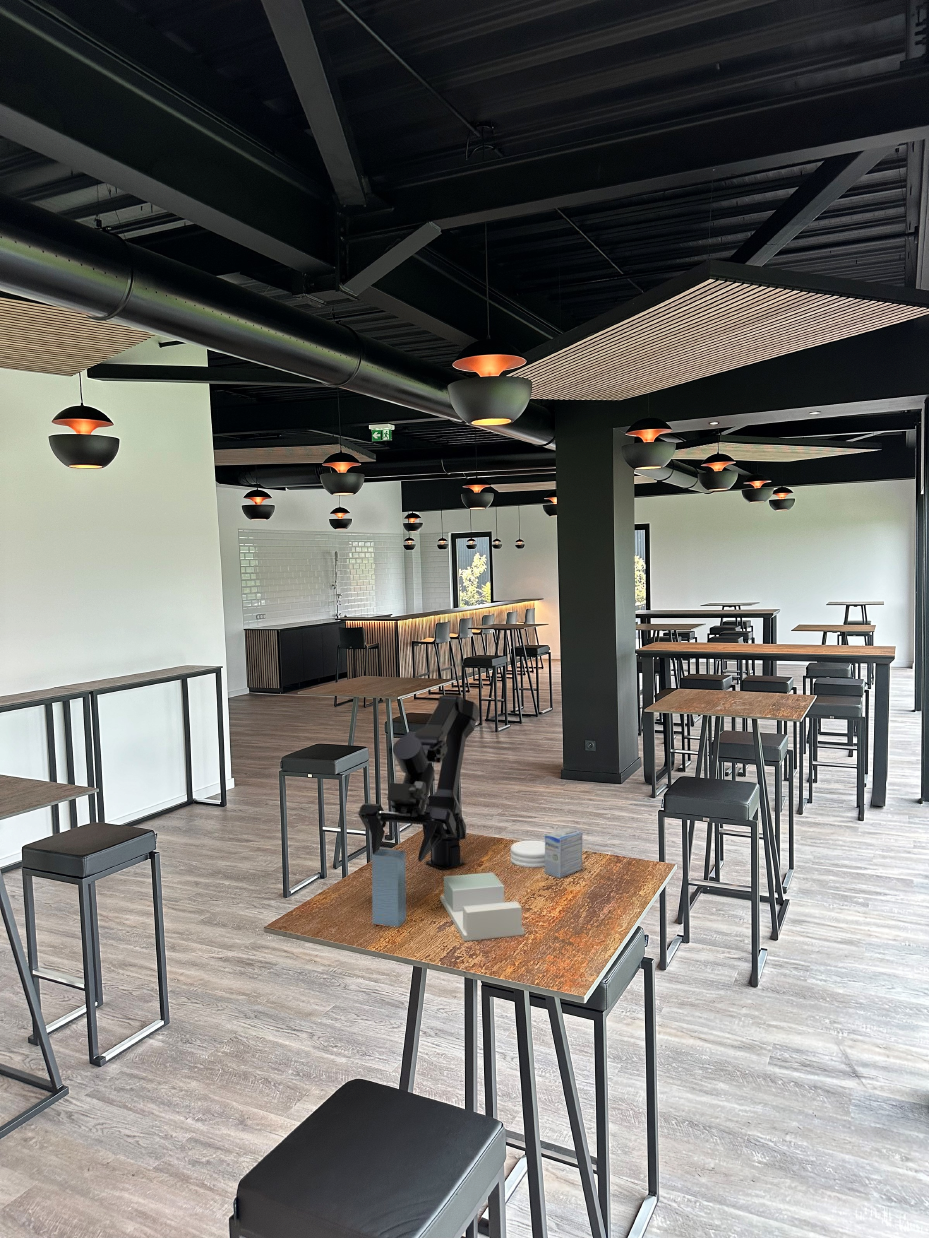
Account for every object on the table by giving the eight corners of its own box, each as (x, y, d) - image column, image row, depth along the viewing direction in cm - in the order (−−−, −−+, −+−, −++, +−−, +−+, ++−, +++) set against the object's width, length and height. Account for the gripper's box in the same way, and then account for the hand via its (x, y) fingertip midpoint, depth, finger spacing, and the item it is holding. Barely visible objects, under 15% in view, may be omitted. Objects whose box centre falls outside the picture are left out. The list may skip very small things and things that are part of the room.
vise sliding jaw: (444, 896, 162) (443, 876, 162) (492, 891, 164) (492, 872, 164) (453, 911, 154) (453, 890, 154) (504, 906, 157) (504, 885, 156)
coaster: (506, 866, 184) (506, 851, 183) (515, 853, 193) (515, 838, 193) (550, 870, 181) (550, 854, 181) (557, 856, 190) (557, 841, 190)
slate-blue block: (380, 916, 155) (380, 848, 154) (405, 919, 153) (405, 850, 153) (372, 925, 151) (372, 854, 150) (398, 927, 149) (397, 857, 149)
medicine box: (567, 865, 183) (566, 827, 183) (583, 870, 180) (582, 831, 180) (544, 874, 178) (544, 834, 178) (560, 879, 175) (560, 838, 174)
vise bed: (440, 899, 163) (440, 875, 163) (493, 894, 166) (493, 870, 165) (464, 941, 143) (464, 912, 143) (524, 934, 146) (524, 906, 146)
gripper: (361, 762, 163) (338, 833, 152) (451, 767, 158) (433, 841, 147) (377, 793, 170) (355, 862, 160) (463, 799, 165) (446, 870, 155)
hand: (396, 858), depth 155 cm, fingers open, 9 cm apart
